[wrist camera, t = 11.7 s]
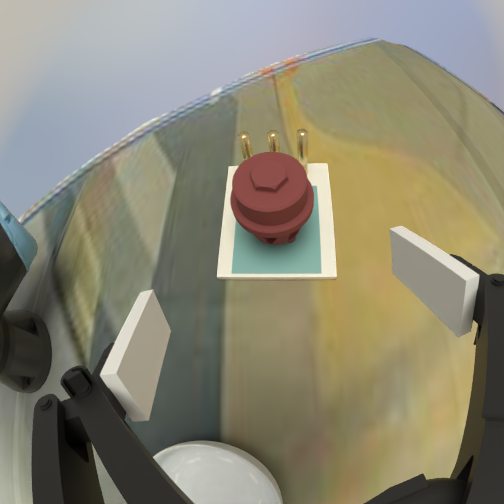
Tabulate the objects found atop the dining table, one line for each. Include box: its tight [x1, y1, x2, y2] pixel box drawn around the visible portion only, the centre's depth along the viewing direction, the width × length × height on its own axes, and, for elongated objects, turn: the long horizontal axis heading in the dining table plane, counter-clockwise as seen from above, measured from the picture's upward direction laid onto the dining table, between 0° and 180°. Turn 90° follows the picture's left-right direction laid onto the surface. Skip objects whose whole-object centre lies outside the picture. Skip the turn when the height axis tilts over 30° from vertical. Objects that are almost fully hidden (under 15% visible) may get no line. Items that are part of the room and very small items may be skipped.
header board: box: [217, 163, 337, 280], centre depth 44 cm, size 16×19×1 cm
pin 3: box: [297, 129, 308, 174], centre depth 42 cm, size 1×1×9 cm
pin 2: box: [268, 130, 280, 153], centre depth 43 cm, size 1×1×9 cm
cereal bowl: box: [153, 440, 283, 504], centre depth 27 cm, size 17×17×7 cm
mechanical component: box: [230, 152, 314, 245], centre depth 38 cm, size 12×10×10 cm
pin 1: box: [238, 132, 253, 161], centre depth 44 cm, size 1×1×9 cm
